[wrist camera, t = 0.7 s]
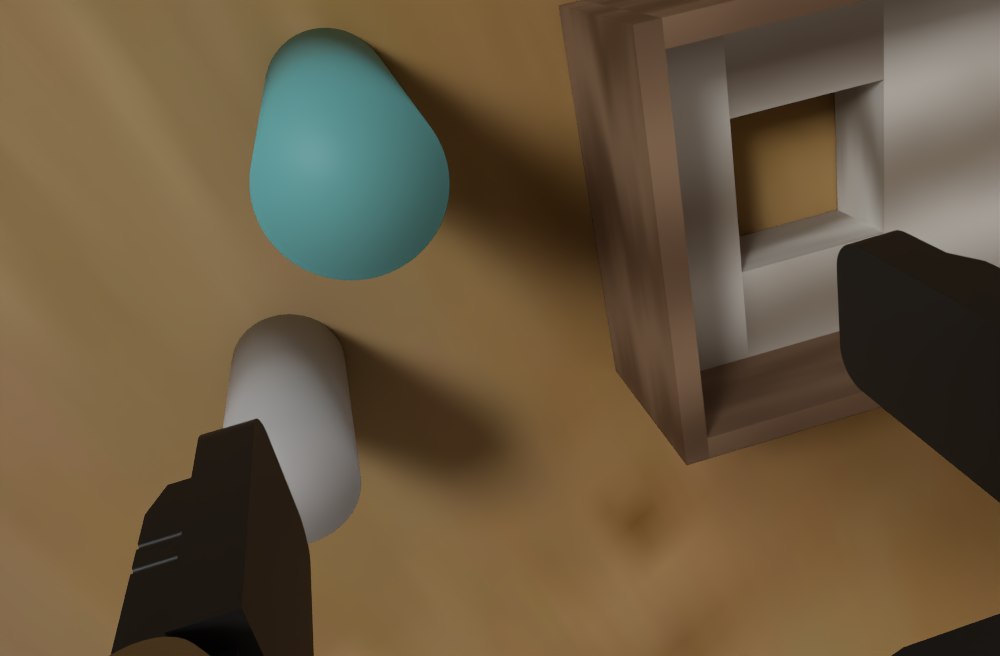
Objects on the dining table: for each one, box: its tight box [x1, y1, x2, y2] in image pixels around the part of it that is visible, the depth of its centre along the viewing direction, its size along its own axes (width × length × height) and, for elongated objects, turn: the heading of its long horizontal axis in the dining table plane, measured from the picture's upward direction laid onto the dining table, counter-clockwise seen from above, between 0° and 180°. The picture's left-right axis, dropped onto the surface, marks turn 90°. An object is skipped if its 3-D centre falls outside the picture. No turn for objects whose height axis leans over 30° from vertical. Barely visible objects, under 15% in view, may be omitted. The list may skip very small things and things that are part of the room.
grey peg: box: [223, 314, 361, 543], centre depth 29 cm, size 4×4×8 cm
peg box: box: [559, 0, 1000, 465], centre depth 30 cm, size 14×20×7 cm
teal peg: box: [250, 28, 450, 280], centre depth 23 cm, size 4×4×12 cm
